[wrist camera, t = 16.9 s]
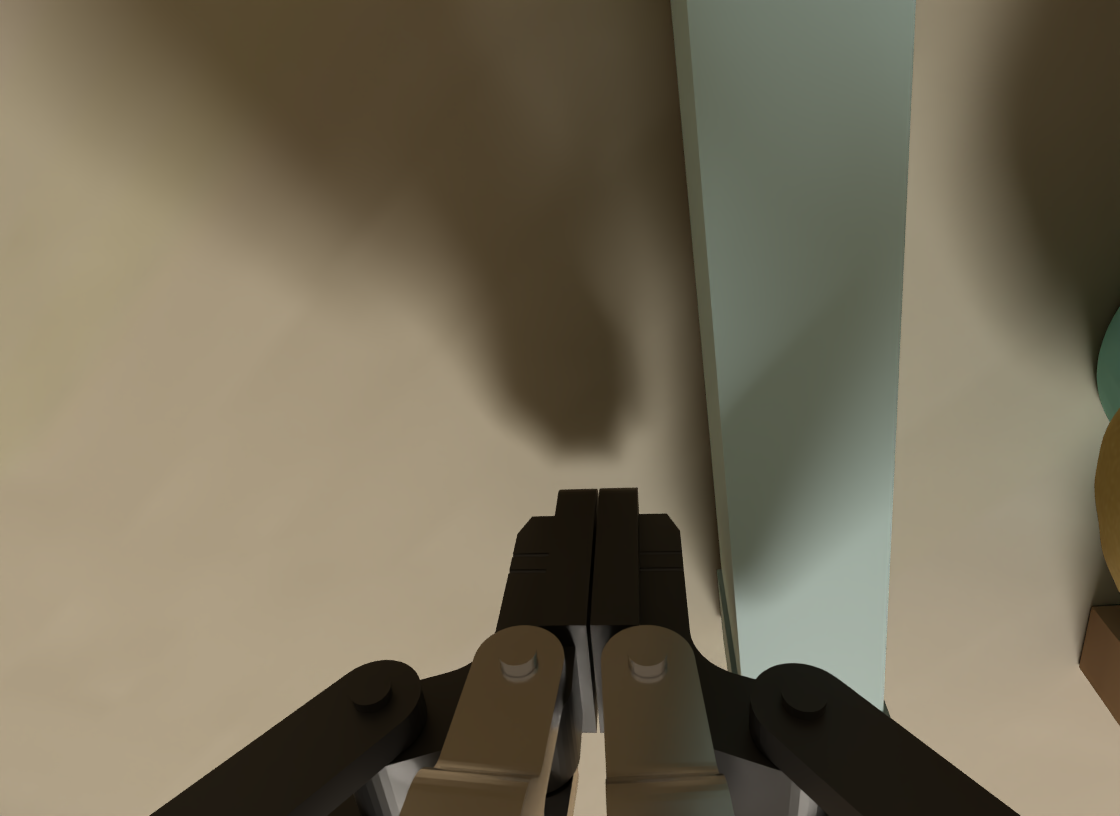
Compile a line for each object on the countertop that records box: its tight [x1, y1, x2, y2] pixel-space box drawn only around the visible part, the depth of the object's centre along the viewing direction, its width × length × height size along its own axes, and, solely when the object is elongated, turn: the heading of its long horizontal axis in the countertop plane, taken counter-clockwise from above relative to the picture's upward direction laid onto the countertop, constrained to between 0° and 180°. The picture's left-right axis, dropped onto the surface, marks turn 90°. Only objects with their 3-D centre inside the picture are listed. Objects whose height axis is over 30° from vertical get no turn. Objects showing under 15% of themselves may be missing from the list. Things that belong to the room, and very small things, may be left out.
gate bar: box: [670, 0, 916, 718], centre depth 11 cm, size 14×2×4 cm, turn 10°
